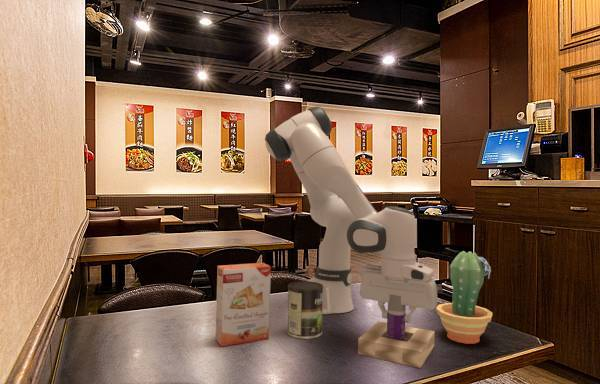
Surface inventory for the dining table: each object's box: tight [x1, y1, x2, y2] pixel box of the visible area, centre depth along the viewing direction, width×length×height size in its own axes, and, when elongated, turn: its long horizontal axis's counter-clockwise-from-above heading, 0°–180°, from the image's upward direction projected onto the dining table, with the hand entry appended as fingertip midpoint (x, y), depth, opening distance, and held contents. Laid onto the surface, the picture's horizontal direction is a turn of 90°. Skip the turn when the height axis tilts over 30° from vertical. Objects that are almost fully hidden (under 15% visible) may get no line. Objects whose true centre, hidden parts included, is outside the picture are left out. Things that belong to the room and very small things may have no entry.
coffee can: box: [287, 280, 323, 340], centre depth 122 cm, size 10×10×14 cm
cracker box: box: [215, 262, 272, 347], centre depth 115 cm, size 14×6×21 cm, turn 117°
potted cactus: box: [435, 250, 493, 345], centre depth 120 cm, size 15×15×25 cm
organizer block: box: [357, 320, 436, 369], centre depth 110 cm, size 16×16×4 cm
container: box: [386, 295, 407, 341], centre depth 110 cm, size 5×5×15 cm
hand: (396, 319), depth 110 cm, fingers closed on container, 5 cm apart
